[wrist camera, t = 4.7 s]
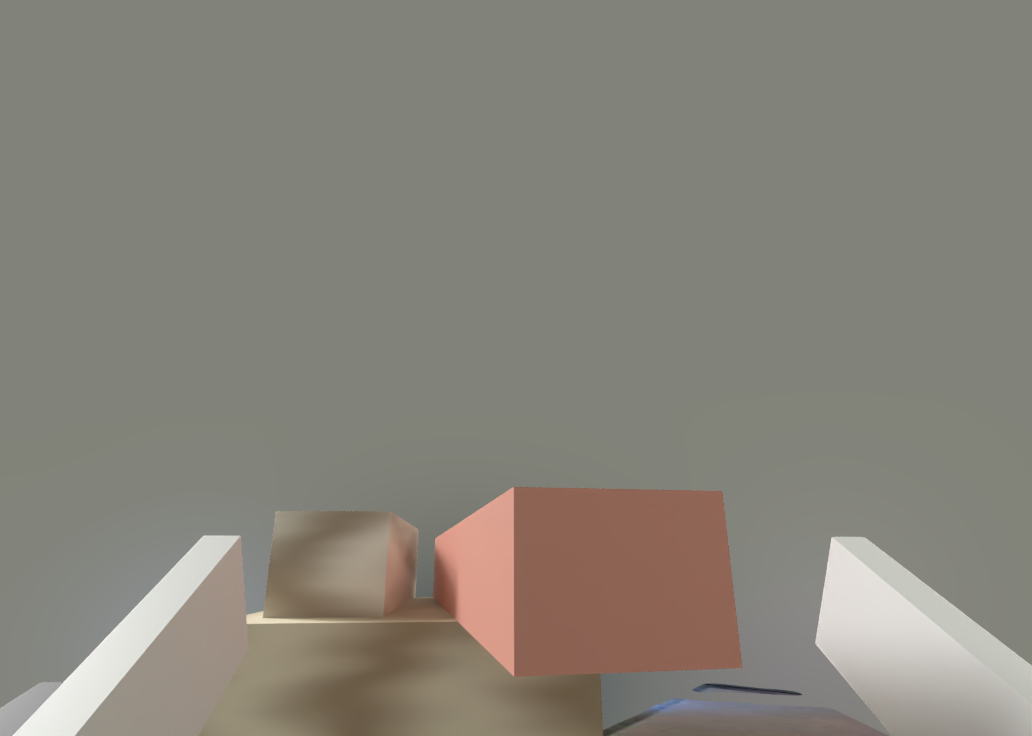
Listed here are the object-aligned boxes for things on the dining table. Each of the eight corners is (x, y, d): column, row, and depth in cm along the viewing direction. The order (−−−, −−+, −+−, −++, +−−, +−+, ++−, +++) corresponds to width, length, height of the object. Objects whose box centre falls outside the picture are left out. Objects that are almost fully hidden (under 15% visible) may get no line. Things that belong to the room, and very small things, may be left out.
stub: (514, 676, 9) (513, 486, 10) (433, 597, 31) (435, 538, 32) (742, 668, 10) (721, 491, 11) (508, 596, 32) (508, 538, 32)
